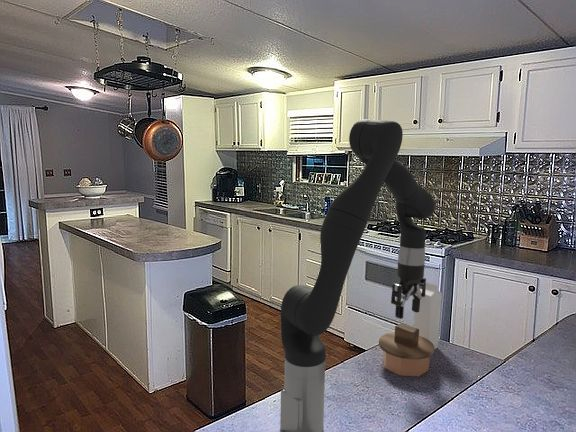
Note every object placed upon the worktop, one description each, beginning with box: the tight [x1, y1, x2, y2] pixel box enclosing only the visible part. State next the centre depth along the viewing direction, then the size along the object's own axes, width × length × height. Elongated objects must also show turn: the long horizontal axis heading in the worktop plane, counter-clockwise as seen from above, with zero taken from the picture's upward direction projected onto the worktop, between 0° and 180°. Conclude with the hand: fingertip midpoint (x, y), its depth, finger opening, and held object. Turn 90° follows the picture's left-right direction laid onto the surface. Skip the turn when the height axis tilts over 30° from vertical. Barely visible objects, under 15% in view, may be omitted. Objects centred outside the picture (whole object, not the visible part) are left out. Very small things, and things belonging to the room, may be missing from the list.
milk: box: [412, 281, 443, 350], centre depth 140 cm, size 6×6×22 cm
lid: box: [378, 322, 435, 359], centre depth 128 cm, size 16×16×6 cm
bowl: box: [382, 350, 430, 377], centre depth 129 cm, size 13×13×6 cm
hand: (407, 314), depth 127 cm, fingers open, 8 cm apart
